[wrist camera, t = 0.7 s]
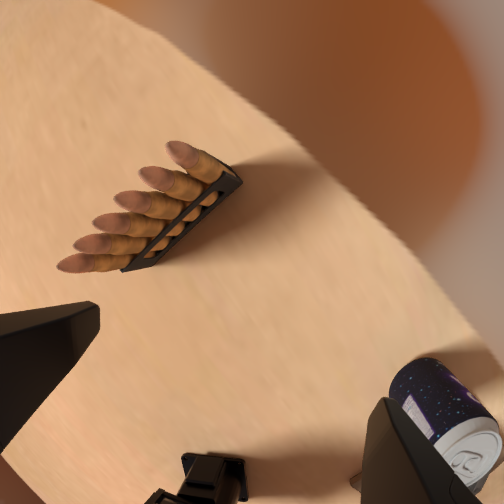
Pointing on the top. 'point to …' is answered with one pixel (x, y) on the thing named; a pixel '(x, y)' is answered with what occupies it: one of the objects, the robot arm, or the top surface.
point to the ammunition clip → (155, 213)
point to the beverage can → (448, 417)
